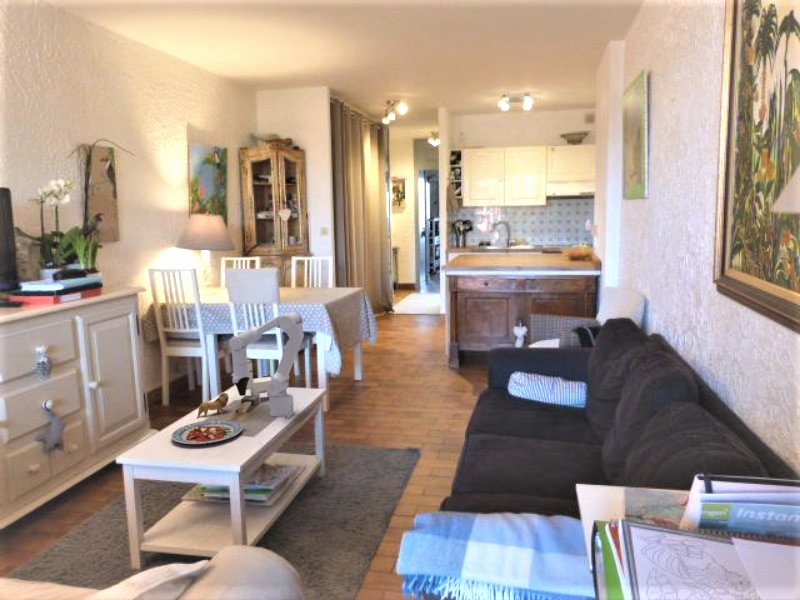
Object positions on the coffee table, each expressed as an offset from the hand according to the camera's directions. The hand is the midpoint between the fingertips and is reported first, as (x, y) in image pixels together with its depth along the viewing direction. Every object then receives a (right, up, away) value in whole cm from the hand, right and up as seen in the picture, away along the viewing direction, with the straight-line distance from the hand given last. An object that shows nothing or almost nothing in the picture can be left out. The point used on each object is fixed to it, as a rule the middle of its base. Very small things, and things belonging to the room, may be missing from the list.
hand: (242, 395), depth 260 cm
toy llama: (+4, -6, +18) cm, 19 cm away
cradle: (0, -8, +1) cm, 8 cm away
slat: (+1, -7, +5) cm, 8 cm away
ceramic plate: (-7, -12, -25) cm, 28 cm away
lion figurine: (-12, -9, -1) cm, 15 cm away
